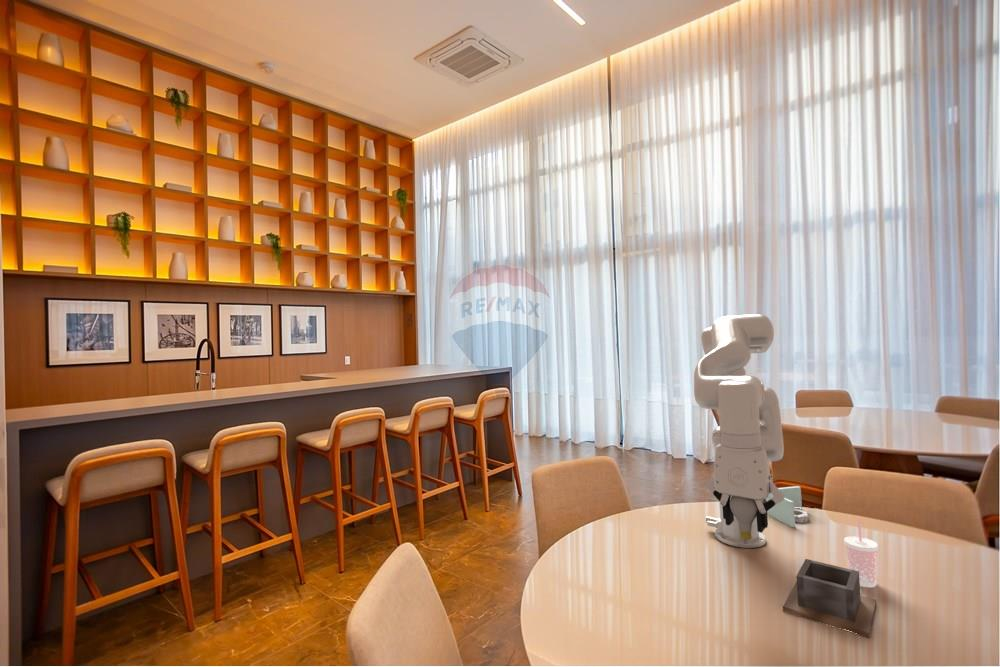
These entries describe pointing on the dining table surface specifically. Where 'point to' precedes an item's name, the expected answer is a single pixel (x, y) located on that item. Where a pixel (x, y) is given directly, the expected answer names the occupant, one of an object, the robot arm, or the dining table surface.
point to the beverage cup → (862, 557)
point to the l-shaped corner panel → (789, 507)
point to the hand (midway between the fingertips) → (745, 525)
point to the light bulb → (744, 514)
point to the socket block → (831, 598)
